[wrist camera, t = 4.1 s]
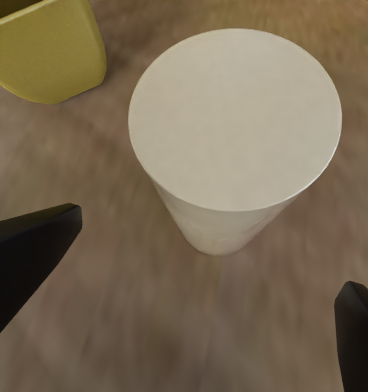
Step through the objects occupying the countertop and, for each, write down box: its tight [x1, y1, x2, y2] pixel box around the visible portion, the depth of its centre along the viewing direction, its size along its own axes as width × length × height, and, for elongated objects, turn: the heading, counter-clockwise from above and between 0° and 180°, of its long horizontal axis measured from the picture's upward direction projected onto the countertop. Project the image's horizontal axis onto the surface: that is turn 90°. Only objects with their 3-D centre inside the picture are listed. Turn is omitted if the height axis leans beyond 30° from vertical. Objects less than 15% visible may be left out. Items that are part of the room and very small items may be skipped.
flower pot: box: [0, 0, 107, 104], centre depth 21 cm, size 9×9×9 cm
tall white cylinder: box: [128, 28, 342, 255], centre depth 14 cm, size 6×6×13 cm
